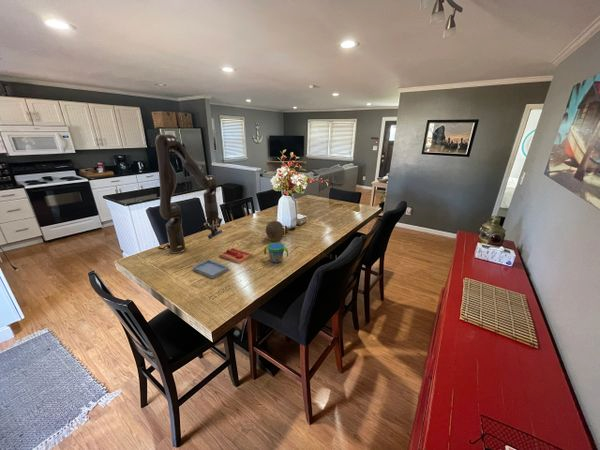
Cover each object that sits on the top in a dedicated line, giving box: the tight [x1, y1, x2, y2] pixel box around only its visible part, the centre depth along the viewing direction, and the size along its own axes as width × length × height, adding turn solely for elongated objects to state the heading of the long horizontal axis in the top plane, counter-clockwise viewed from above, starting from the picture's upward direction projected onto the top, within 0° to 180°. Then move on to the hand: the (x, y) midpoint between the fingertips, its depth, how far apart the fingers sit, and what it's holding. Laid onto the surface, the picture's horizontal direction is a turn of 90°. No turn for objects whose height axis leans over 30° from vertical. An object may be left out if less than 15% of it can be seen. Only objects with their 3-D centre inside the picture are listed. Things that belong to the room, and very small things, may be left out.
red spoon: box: [226, 248, 243, 259], centre depth 156 cm, size 13×5×3 cm, turn 58°
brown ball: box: [265, 220, 285, 242], centre depth 179 cm, size 14×14×15 cm
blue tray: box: [192, 259, 229, 279], centre depth 140 cm, size 17×11×2 cm, turn 58°
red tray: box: [219, 247, 253, 264], centre depth 156 cm, size 17×11×2 cm, turn 58°
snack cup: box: [263, 242, 289, 264], centre depth 150 cm, size 16×10×10 cm
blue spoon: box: [207, 229, 223, 240], centre depth 151 cm, size 13×5×3 cm
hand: (214, 235), depth 151 cm, fingers closed on blue spoon, 1 cm apart
